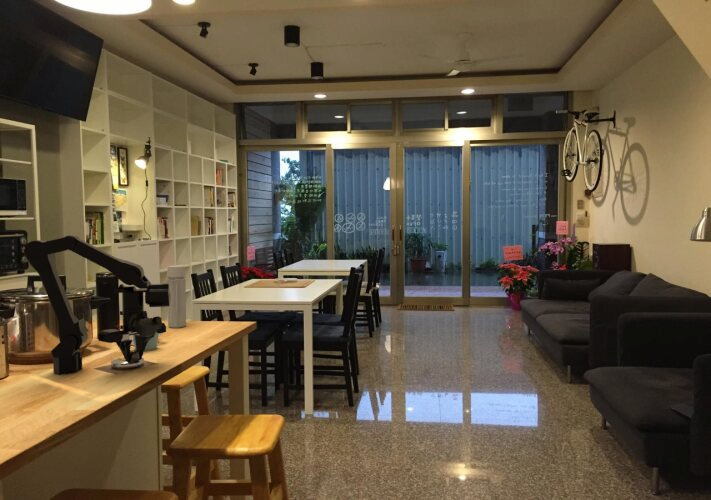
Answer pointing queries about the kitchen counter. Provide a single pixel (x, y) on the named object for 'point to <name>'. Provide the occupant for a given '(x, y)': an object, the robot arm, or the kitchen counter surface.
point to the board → (118, 371)
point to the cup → (149, 343)
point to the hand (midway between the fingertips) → (134, 361)
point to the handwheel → (122, 363)
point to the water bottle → (177, 296)
